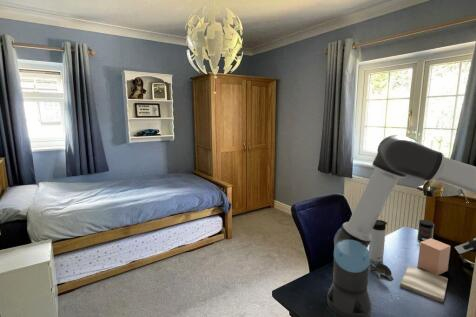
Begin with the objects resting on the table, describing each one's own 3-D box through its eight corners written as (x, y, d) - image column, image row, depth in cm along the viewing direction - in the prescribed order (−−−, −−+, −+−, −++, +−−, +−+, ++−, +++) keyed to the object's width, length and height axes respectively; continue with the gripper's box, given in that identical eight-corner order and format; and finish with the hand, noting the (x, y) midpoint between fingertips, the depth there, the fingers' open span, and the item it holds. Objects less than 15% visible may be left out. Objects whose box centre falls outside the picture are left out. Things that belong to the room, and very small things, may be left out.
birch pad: (443, 302, 98) (443, 299, 98) (400, 286, 107) (400, 283, 107) (447, 281, 109) (447, 278, 109) (408, 268, 119) (408, 265, 119)
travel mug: (382, 265, 122) (385, 225, 118) (366, 260, 126) (369, 221, 122) (384, 259, 127) (388, 220, 123) (369, 255, 130) (372, 217, 127)
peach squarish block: (447, 270, 117) (450, 245, 114) (436, 275, 113) (440, 250, 111) (428, 261, 124) (430, 238, 121) (417, 266, 120) (420, 242, 118)
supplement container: (430, 238, 145) (432, 221, 143) (433, 244, 139) (435, 225, 137) (416, 236, 148) (418, 219, 146) (418, 241, 142) (420, 223, 140)
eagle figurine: (367, 276, 113) (391, 280, 107) (367, 258, 115) (391, 261, 110) (372, 277, 118) (395, 281, 112) (372, 260, 121) (394, 263, 115)
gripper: (517, 244, 83) (456, 263, 99) (550, 227, 93) (489, 247, 109) (498, 222, 86) (442, 244, 102) (531, 208, 97) (475, 230, 113)
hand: (466, 246), depth 106 cm, fingers open, 13 cm apart
